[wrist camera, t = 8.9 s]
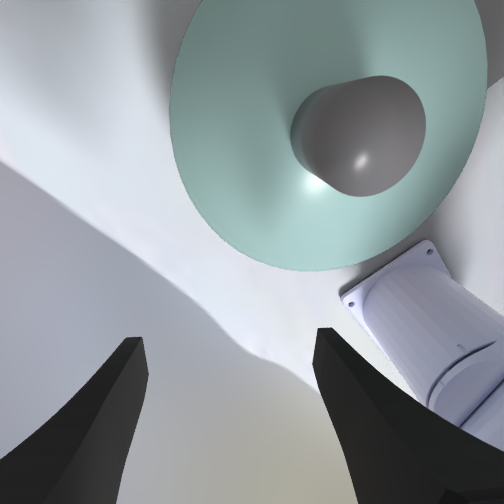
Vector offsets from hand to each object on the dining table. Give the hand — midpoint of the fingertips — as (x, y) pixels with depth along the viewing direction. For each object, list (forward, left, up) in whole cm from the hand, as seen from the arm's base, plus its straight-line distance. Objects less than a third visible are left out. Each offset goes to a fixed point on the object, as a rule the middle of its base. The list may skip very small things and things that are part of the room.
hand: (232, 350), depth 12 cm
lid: (+3, -9, -6) cm, 11 cm away
